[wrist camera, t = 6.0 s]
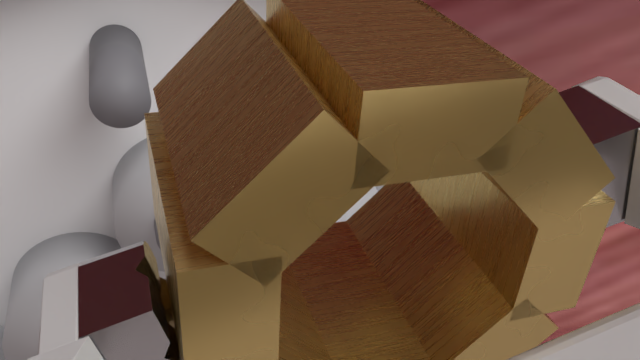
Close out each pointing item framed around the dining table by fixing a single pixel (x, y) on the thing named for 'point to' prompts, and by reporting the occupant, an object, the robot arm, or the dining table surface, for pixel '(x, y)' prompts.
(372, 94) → the wooden octagonal ring
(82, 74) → the carrier board
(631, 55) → the dining table surface
